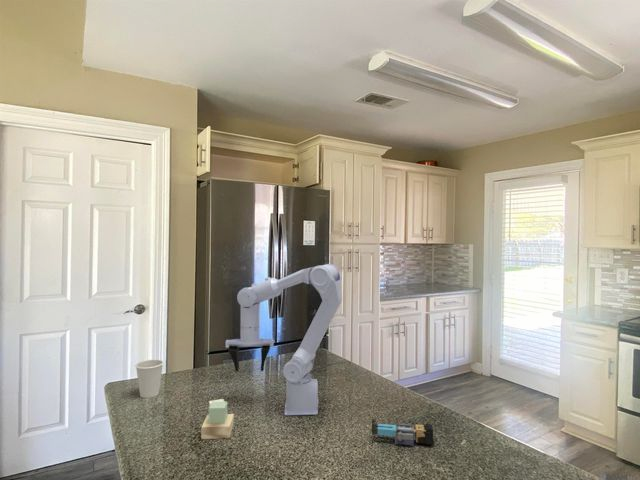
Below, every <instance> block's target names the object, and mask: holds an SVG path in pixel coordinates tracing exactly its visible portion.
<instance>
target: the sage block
mask: <svg viewBox="0 0 640 480" xmlns="http://www.w3.org/2000/svg"><path fill="white" fill-rule="evenodd" d="M228 404H229V403H228V401H225V402H212V403H211V405H210V407H209V406H208V415H209V424H225V421H226V419H227V414H228Z"/></svg>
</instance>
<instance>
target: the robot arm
mask: <svg viewBox="0 0 640 480" xmlns="http://www.w3.org/2000/svg"><path fill="white" fill-rule="evenodd" d="M341 282H342V275H341V273H340V271H339V269H338V267H337V266H336V265H334V264H332V263H326V264H323V265H319V264H318V265H316V266H312V267H308V268H303V269H300V270H297V271H295V272H293V273H291V274H288V275H286V276H285V277H282V278H280V279H277V278H275V277H270V276H269V277H265V278H264V280H263V281H260V282H258V283H256V282H255V283H252V284H251V286H250V287H249V286H248V287H243V288H242V289H240V290H239V291H238V293H237V296H236V299H237V303H238V305H240V338H234V339H226V340H225V348H226V349H228V353H229V354H230V357H231V359H232V362H233V365H234V369H235V372H238V371H239V369H240V362H239V355H240V353H239V351H240V348H248V347H249V348H251V347H256V348H257V347H258V348H260V347H261V349H260V350H261V351H260V352H261V353H260V354H261V355H260V356H261V360H260V361H261V363H260V372H263V371H264V368H265V363H266V360H267V357H268V354H269V353H270V349H271V348H274V345H275V344H274V343H275V339H272V338H271V339H269V338H260V305H261V303H263V302H266V301H268V300H271V299H273V298H276V297H278V296H280V295H281V293H282V291H283V290H284V289H287V288H290V287H292V286H296V285H299V284H302V283H304V284H306V285H312V286H313V287H314V288H315V290H316V291H317V292H318V294H319V296H320V298H321V300H322V301H321V303H320V305H319V307H318V309H317V311H316V313H315V315H314V316H313V319H312V321H311V323H310V325H309V327H308V329H307V331H306V333H305V334H304V337H303V339H302V341H301V343H300V344H299V347H298V348H297V350H296V351H295V352H294V353H293V355H292V357H291V359H289V361H287V362H286V363H285V364H284V366H283V368H282V369H283V370H282V374H283V376H284V378H285V380H286V381H285V382H286V383H285V384H286V385H285V386H286V388H285V389H286V391H285V392H286V395H285V396H286V397H285V398H286V400H285V402H284V416H317V415H318V414H319V413H318V410H319V407H318V406H319V387H318V379H317V378H312V377H311V371H312V370H313V368H314V360H315V357H316V356H317V355H316V352H317V350H318V348H319V346H320V345H321V343H322V340H323V339H324V336H325V334H326V333H327V331H328V328H329V327H330V324H331V323H332V321H333V319H334V317H335V314H336V313H337V311H338V309H339V308H340V304H341V303H342V300H343V299H342V297H343V296H342V283H341Z"/></svg>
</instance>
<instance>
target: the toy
mask: <svg viewBox="0 0 640 480" xmlns="http://www.w3.org/2000/svg"><path fill="white" fill-rule="evenodd" d="M371 435H375V436H377V435H378V436H388V437H394V442H393V441H391V440H389V441H388V443H389V444H392V445H394V444H395V445H405V446H409V447H410V446H411V447H414V446H415V443H417V444H425V445H434V444H435V440H434V427H433V425H432V424H431V423H429V422H426V424H415V425H413V424H409V423H407V424H405V423H401V422H396V424H387V423H386V424H385V423H377V421H376V418H372V420H371Z"/></svg>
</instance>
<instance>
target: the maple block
mask: <svg viewBox="0 0 640 480" xmlns="http://www.w3.org/2000/svg"><path fill="white" fill-rule="evenodd" d="M234 426H235V414H234V413H227V419H226V421H225V424H209V414H207V415H206V417H205V419H204V421H203V424H202V426H201V427H200V428H201V430H200V431H201V432H200V433H201V435H200V436H201V438H200V439H201V440H214V439H216V440H219V439H221V440H222V439H223V438H225V439H230V438H231V436H232V433H233V429H234Z"/></svg>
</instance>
